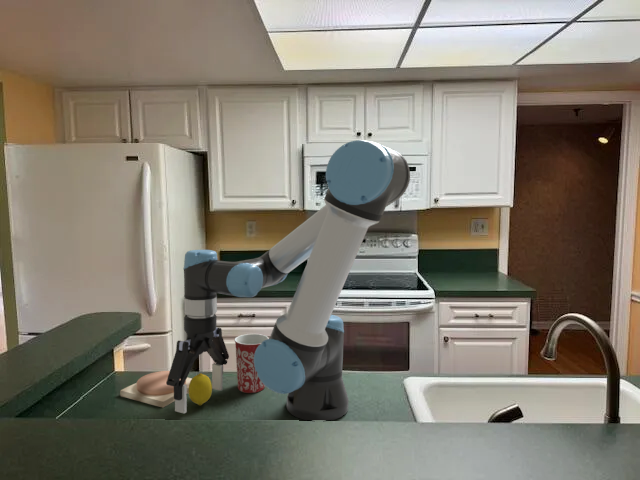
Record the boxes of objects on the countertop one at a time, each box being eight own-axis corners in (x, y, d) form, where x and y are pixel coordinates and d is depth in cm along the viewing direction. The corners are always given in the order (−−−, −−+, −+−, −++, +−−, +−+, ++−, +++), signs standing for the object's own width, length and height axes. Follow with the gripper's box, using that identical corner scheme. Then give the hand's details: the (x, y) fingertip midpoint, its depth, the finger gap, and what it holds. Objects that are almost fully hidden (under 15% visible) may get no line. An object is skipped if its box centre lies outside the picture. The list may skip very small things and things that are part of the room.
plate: (201, 385, 118) (201, 375, 118) (163, 407, 105) (163, 395, 105) (160, 376, 123) (160, 366, 123) (120, 396, 111) (120, 384, 110)
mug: (250, 398, 111) (250, 346, 110) (227, 388, 117) (227, 338, 116) (284, 383, 121) (285, 335, 120) (261, 374, 127) (262, 328, 126)
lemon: (213, 399, 110) (213, 368, 109) (210, 410, 104) (210, 377, 104) (190, 400, 109) (190, 369, 108) (186, 411, 104) (186, 378, 103)
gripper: (219, 302, 118) (218, 378, 120) (149, 325, 95) (149, 419, 97) (242, 305, 115) (241, 383, 117) (176, 330, 92) (176, 426, 94)
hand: (200, 399), depth 107 cm, fingers open, 13 cm apart
